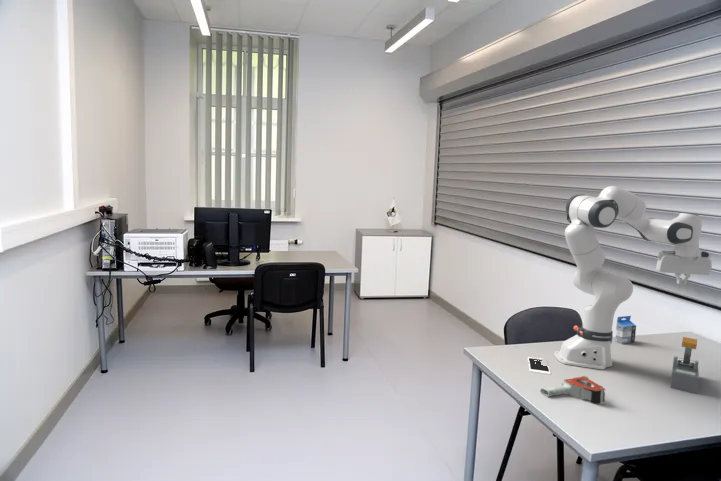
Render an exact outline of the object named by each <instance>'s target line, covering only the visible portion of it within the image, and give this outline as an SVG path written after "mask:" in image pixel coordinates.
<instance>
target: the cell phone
mask: <svg viewBox="0 0 721 481" xmlns="http://www.w3.org/2000/svg"><path fill="white" fill-rule="evenodd" d="M527 357H528V358H527V363H528V362H529V364H528V369H529V372H531V371H532V372H531V373H537V372H539V373H538V374H544V373H546V375H551V369H550V366H548V367H547V366H543V365H541V362H540V361H542V360H540V359H541V357H536V358H537V359H534V358H535V357H533V358H532V356H531V357H530V356H527ZM538 358H539V359H538ZM534 360H537V361H534ZM538 360H539V361H538ZM535 362H536V364H535Z"/></svg>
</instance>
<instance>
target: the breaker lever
mask: <svg viewBox="0 0 721 481" xmlns="http://www.w3.org/2000/svg"><path fill="white" fill-rule="evenodd" d="M697 346H698V339H696V338H691V337H687V336H682V342H681V347H682V348H684V353H683V354H684V355H683V358H682V359H683V361H682V360H678V365H681V366H686V367H690V368H694V363H692V362H690V360H691V357H692V350H697V348H698V347H697Z"/></svg>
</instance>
